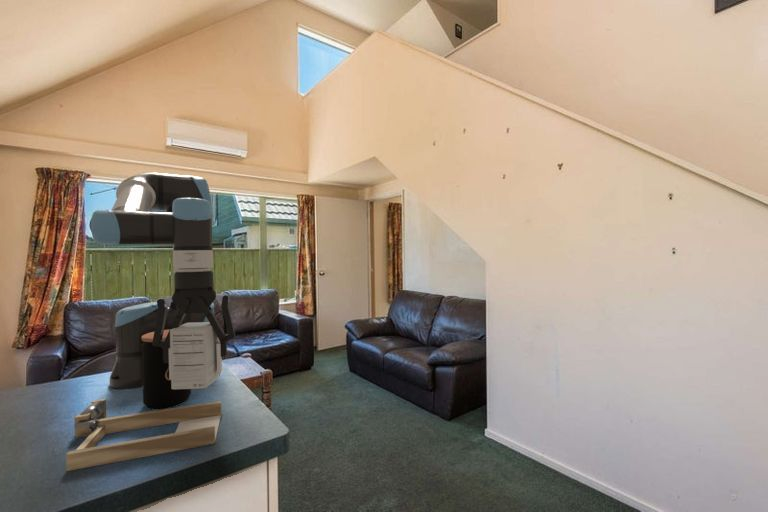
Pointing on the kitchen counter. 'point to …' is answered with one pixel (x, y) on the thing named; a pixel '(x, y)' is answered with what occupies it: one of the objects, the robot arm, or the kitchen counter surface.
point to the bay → (144, 447)
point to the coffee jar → (158, 377)
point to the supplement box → (193, 356)
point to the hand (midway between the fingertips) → (196, 374)
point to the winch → (90, 418)
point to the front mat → (199, 424)
